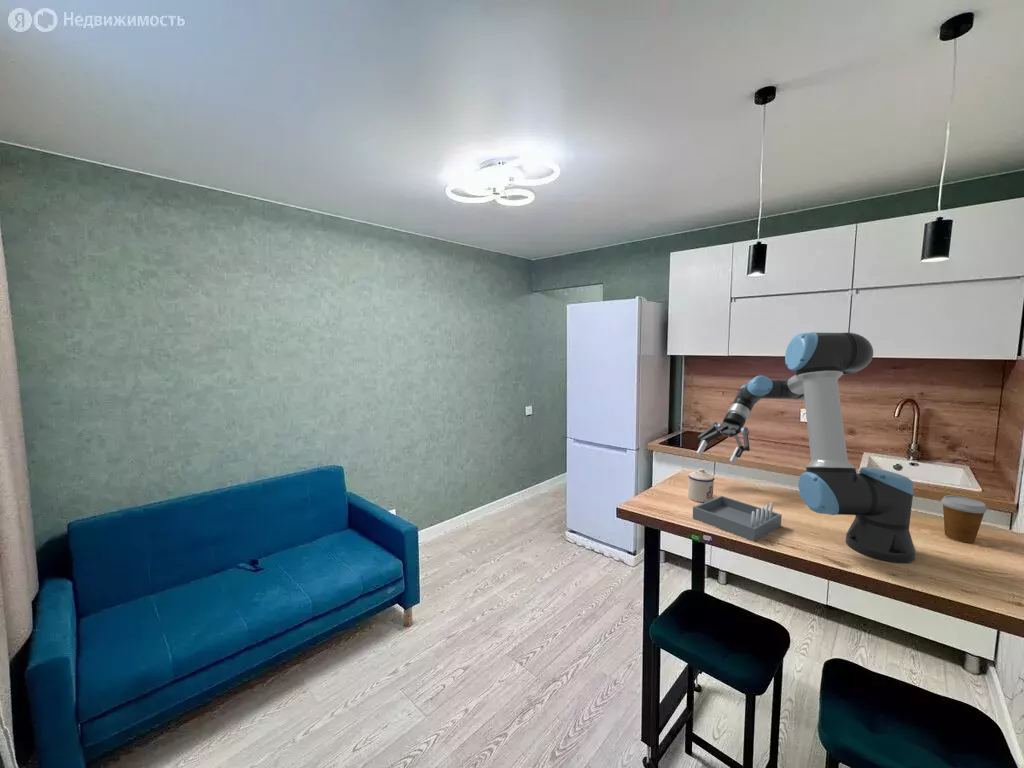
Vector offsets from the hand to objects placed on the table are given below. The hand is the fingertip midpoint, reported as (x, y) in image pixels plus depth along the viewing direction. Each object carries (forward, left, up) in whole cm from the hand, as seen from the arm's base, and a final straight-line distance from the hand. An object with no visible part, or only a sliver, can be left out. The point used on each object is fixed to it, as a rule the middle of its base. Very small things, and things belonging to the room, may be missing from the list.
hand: (714, 458), depth 164 cm
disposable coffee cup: (-64, -25, -14) cm, 70 cm away
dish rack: (-19, +20, -14) cm, 31 cm away
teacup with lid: (0, +9, -14) cm, 17 cm away
